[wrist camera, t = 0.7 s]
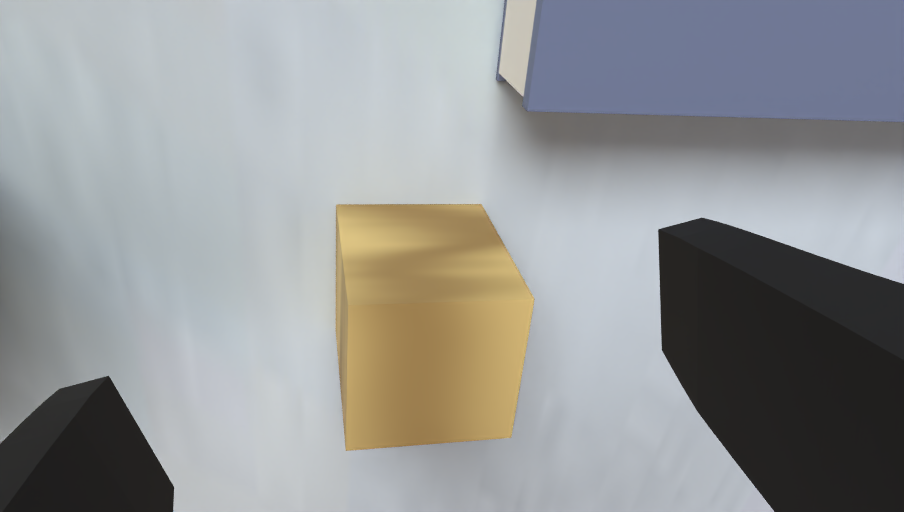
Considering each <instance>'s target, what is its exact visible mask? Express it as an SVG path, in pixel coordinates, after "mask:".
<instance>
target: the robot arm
mask: <svg viewBox="0 0 904 512" xmlns="http://www.w3.org/2000/svg"><path fill="white" fill-rule="evenodd" d="M658 233H659V267H660V301H661V335H662V351H663V353H664V355H665V356H666V358H667V360H668V362H669V363H670V365H671V367H672V369H673V371H674V372H675V374H676V376H677V378H678V380H679V381H680V383H681V385H682V386H683V388H684V390H685V391H686V393H687V395H688V396H689V398H690V400H691V401H692V403H693V405H694V406H695V408H696V410H697V411H698V413H699V414H700V415H701V417H702V418H703V419H704V421H705V422H706V423H707V425H708V426H709V427H710V429H711V430H712V431H713V433H714V434H715V435H716V437H717V438H718V439H719V441H720V442H721V443H722V444H723V446H724V447H725V448H726V450H727V451H728V452H729V454H730V455H731V456H732V458H733V459H734V460H735V461H736V463H737V464H738V465H739V467H740V468H741V469H742V470H743V472H744V473H745V474H746V476H747V477H748V478H749V479H750V481H751V482H752V483H753V485H754V486H755V487H756V488H757V490H758V491H759V492H760V494H761V495H762V496H763V497H764V499H765V500H766V501H767V503H768V504H769V505H770V506H771V508H772V509H773V510H774V512H904V284H902V283H899V282H895V281H892V280H889V279H886V278H883V277H880V276H877V275H873V274H870V273H867V272H864V271H861V270H858V269H855V268H852V267H849V266H846V265H843V264H841V263H838V262H835V261H832V260H829V259H826V258H823V257H820V256H817V255H814V254H811V253H809V252H806V251H803V250H800V249H797V248H794V247H791V246H789V245H786V244H783V243H780V242H777V241H774V240H771V239H769V238H766V237H763V236H760V235H757V234H754V233H751V232H748V231H745V230H742V229H739V228H736V227H733V226H730V225H727V224H723V223H720V222H717V221H713V220H709V219H705V218H699V219H696V220H692V221H688V222H684V223H681V224H677V225H673V226H669V227H665V228H662V229H658ZM173 499H174V486H173V485H172V483H171V481H170V479H169V478H168V476H167V474H166V473H165V471H164V469H163V468H162V466H161V464H160V462H159V461H158V459H157V457H156V456H155V454H154V452H153V450H152V449H151V447H150V445H149V444H148V442H147V440H146V439H145V437H144V435H143V433H142V432H141V430H140V428H139V427H138V425H137V423H136V421H135V420H134V418H133V416H132V415H131V413H130V411H129V409H128V408H127V406H126V404H125V403H124V401H123V399H122V398H121V396H120V394H119V392H118V391H117V389H116V387H115V386H114V384H113V382H112V380H111V379H110V377H109V376H106V377H103V378H99V379H95V380H91V381H88V382H84V383H80V384H76V385H73V386H69V387H65V388H61V389H59V390H58V391H56V392H55V393H54V394H53V395H52V396H50V397H49V398H48V399H47V400H46V401H45V402H43V403H42V404H41V405H40V406H39V407H38V408H37V409H36V410H35V411H34V412H33V413H31V414H30V415H29V416H28V417H27V418H26V419H25V420H24V421H23V422H22V423H21V424H20V425H19V426H18V427H17V428H16V429H15V430H14V431H13V432H12V433H11V434H10V435H9V436H8V437H7V438H6V439H5V440H4V441H3V442H2V443H1V444H0V512H173Z"/></svg>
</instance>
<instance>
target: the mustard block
mask: <svg viewBox="0 0 904 512" xmlns="http://www.w3.org/2000/svg"><path fill="white" fill-rule="evenodd" d="M533 305H534V297H533V295H532V294H531V292H530V290H529V288H528V287H527V285H526V283H525V281H524V279H523V278H522V276H521V274H520V272H519V270H518V269H517V267H516V265H515V263H514V262H513V260H512V258H511V256H510V254H509V253H508V251H507V249H506V247H505V245H504V244H503V242H502V240H501V238H500V237H499V235H498V233H497V231H496V229H495V228H494V226H493V224H492V222H491V221H490V219H489V217H488V215H487V213H486V212H485V210H484V208H483V206H482V204H375V205H336V339H337V351H338V363H339V375H340V387H341V399H342V411H343V423H344V435H345V447H346V451H349V450H362V449H374V448H387V447H400V446H412V445H425V444H438V443H450V442H463V441H476V440H488V439H501V438H511V436H512V430H513V424H514V418H515V412H516V406H517V400H518V394H519V388H520V382H521V376H522V370H523V364H524V358H525V353H526V347H527V341H528V335H529V329H530V323H531V317H532V311H533Z"/></svg>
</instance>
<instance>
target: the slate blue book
mask: <svg viewBox="0 0 904 512" xmlns="http://www.w3.org/2000/svg"><path fill="white" fill-rule="evenodd" d="M496 80H497V81H507V82H508V83H509V84H511V85H512V86H513V87H514V88H515V89H516V90H517V91H518V92H519V93H520V94H521V95H522V96H523V104H522V106H523V107H524V108H525V109H526V110H527V111H536V112H571V113H606V114H641V115H676V116H711V117H746V118H781V119H816V120H851V121H886V122H904V0H505V5H504V13H503V22H502V31H501V39H500V48H499V57H498V65H497V74H496Z"/></svg>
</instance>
